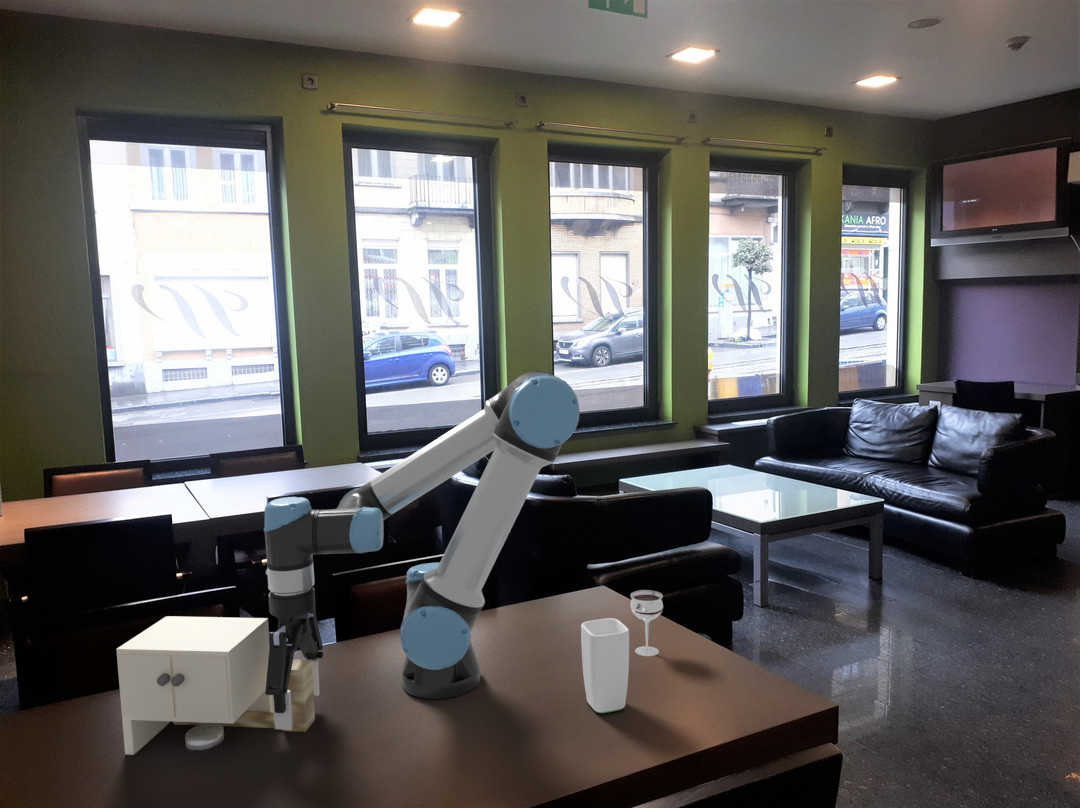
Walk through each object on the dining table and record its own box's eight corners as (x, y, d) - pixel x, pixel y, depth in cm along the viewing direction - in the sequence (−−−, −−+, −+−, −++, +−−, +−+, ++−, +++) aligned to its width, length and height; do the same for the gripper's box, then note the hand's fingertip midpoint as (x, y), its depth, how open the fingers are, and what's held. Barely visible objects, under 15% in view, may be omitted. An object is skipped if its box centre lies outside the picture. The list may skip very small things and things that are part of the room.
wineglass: (640, 641, 169) (639, 587, 167) (669, 649, 165) (668, 593, 163) (624, 653, 163) (624, 597, 162) (653, 660, 159) (653, 603, 158)
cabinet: (273, 715, 140) (267, 618, 138) (231, 764, 125) (223, 655, 123) (173, 711, 142) (166, 616, 141) (119, 759, 127) (110, 652, 125)
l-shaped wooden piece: (314, 719, 139) (311, 659, 137) (305, 731, 135) (302, 670, 133) (183, 715, 141) (179, 656, 140) (170, 726, 137) (166, 666, 136)
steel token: (230, 733, 135) (230, 723, 135) (213, 752, 129) (212, 742, 129) (197, 732, 136) (196, 722, 135) (178, 751, 130) (177, 740, 130)
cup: (632, 712, 139) (632, 631, 137) (594, 719, 136) (593, 637, 135) (616, 694, 146) (615, 616, 144) (579, 700, 143) (578, 622, 142)
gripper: (298, 566, 146) (304, 679, 149) (237, 614, 123) (245, 746, 125) (337, 567, 145) (343, 680, 148) (283, 615, 122) (290, 748, 125)
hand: (298, 710), depth 137 cm, fingers open, 11 cm apart
